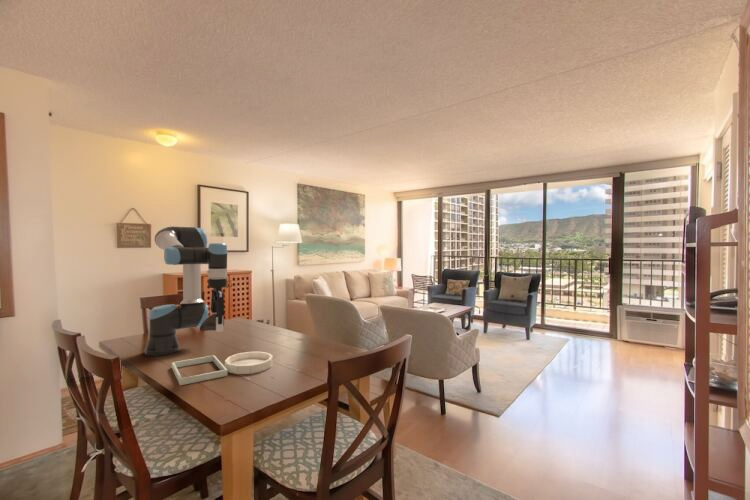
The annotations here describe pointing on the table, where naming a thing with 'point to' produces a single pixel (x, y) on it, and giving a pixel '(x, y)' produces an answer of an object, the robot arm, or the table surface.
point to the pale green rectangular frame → (202, 376)
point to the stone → (209, 323)
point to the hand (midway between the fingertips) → (217, 329)
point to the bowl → (248, 362)
